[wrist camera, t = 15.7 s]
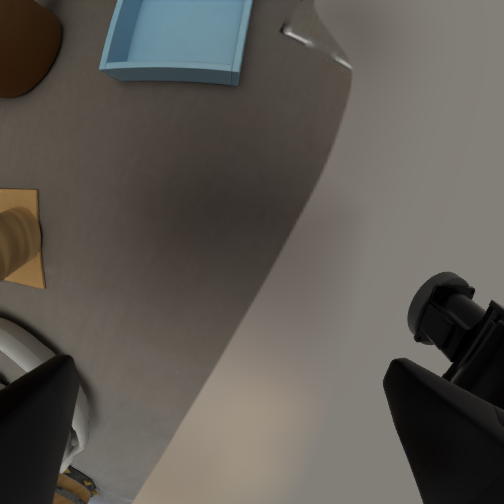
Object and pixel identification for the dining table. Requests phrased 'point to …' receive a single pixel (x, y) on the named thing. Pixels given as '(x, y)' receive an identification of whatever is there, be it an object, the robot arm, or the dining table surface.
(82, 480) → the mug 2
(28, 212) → the pepper mill
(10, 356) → the headphones
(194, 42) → the tub
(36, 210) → the mat
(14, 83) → the mug
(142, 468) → the dining table surface
